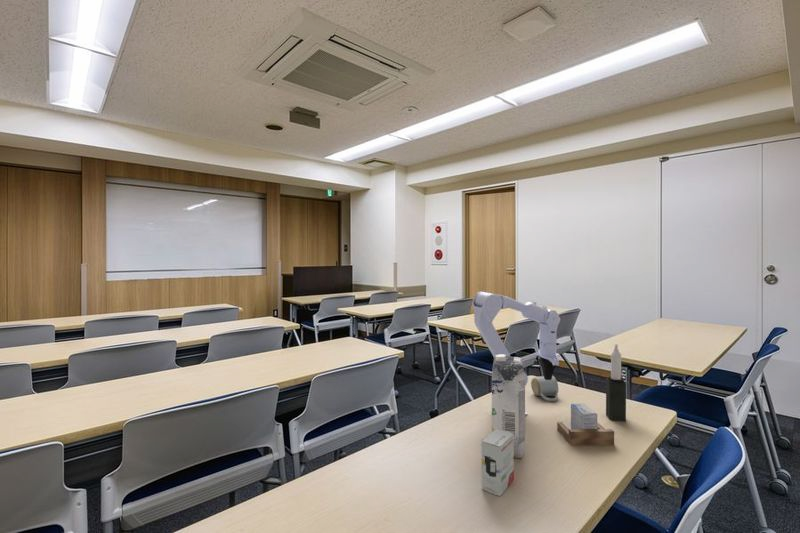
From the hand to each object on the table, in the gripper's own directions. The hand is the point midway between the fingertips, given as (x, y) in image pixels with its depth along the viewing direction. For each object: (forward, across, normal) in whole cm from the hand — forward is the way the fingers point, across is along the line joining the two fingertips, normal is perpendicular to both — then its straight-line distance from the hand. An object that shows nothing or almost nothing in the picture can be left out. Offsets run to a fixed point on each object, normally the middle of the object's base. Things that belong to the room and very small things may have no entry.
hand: (547, 379), depth 136 cm
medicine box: (+10, -22, -2) cm, 25 cm away
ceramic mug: (+10, +9, -3) cm, 14 cm away
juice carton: (+10, -30, +23) cm, 39 cm away
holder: (+10, -23, -2) cm, 25 cm away
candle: (+10, -10, -19) cm, 24 cm away
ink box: (+10, -46, +30) cm, 56 cm away
